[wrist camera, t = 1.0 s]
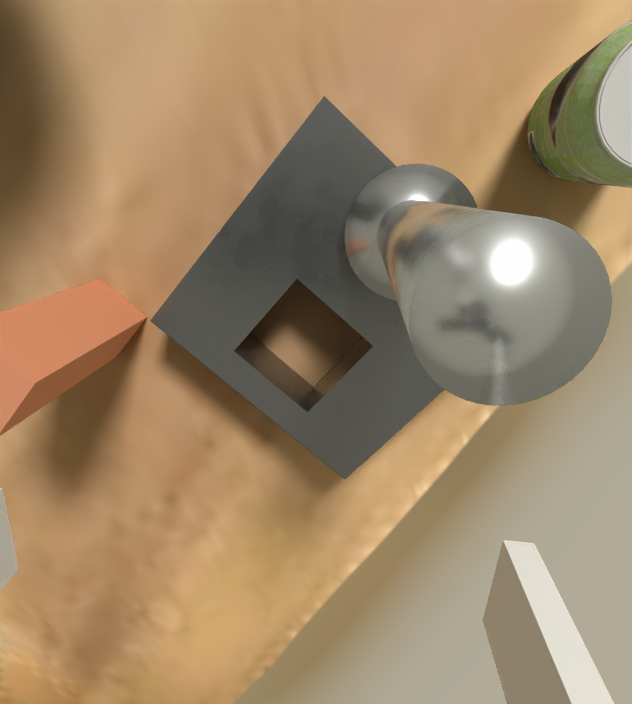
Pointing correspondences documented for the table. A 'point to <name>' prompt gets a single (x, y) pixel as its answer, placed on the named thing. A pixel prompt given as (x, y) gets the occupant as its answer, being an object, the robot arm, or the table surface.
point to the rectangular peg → (59, 345)
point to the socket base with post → (387, 293)
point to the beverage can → (588, 117)
